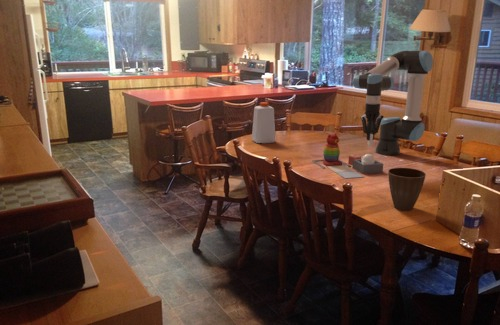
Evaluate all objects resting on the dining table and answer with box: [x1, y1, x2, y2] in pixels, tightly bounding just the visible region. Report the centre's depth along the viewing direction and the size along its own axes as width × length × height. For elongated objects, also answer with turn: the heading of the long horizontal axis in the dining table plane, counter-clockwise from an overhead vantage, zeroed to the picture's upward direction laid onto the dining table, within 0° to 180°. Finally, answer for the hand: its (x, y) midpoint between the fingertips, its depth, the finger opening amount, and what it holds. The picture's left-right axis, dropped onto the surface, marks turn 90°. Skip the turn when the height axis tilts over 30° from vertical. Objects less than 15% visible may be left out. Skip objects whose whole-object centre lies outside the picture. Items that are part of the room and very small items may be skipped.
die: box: [347, 154, 362, 166], centre depth 250 cm, size 5×5×6 cm
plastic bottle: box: [251, 101, 276, 144], centre depth 304 cm, size 15×15×28 cm
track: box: [311, 158, 365, 179], centre depth 242 cm, size 17×37×1 cm, turn 15°
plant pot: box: [387, 167, 427, 212], centre depth 182 cm, size 15×15×16 cm
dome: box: [361, 153, 376, 164], centre depth 237 cm, size 7×7×8 cm
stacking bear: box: [322, 133, 343, 167], centre depth 249 cm, size 11×10×18 cm
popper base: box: [351, 158, 384, 175], centre depth 238 cm, size 12×12×5 cm
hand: (369, 145), depth 235 cm, fingers closed
